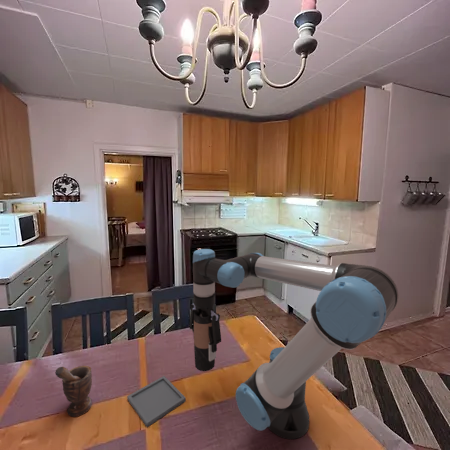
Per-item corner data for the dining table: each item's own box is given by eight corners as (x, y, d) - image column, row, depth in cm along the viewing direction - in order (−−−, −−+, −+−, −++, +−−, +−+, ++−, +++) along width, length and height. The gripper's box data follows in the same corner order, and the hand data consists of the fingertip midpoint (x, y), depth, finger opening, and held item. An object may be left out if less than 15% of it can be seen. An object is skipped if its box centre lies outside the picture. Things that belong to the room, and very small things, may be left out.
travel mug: (212, 373, 88) (212, 318, 85) (191, 370, 89) (190, 316, 87) (217, 359, 95) (217, 308, 93) (198, 356, 97) (197, 306, 94)
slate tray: (185, 401, 91) (185, 397, 91) (146, 427, 81) (146, 423, 81) (164, 379, 102) (164, 375, 102) (127, 399, 92) (127, 396, 91)
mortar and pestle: (84, 425, 81) (80, 368, 79) (55, 429, 80) (50, 371, 77) (96, 397, 93) (93, 346, 90) (71, 400, 91) (67, 348, 89)
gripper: (232, 298, 84) (232, 362, 87) (195, 283, 99) (195, 338, 101) (215, 305, 79) (216, 373, 82) (178, 288, 94) (180, 346, 96)
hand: (204, 353), depth 92 cm, fingers closed on travel mug, 8 cm apart
